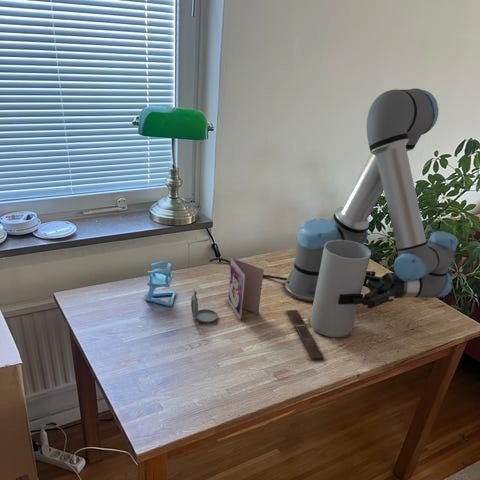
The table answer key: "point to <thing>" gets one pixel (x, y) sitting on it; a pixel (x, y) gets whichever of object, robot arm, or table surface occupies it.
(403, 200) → the robot arm
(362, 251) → the cylinder vase
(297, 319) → the ruler
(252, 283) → the greeting card
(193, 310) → the pocket watch
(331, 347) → the table surface
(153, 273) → the chair
